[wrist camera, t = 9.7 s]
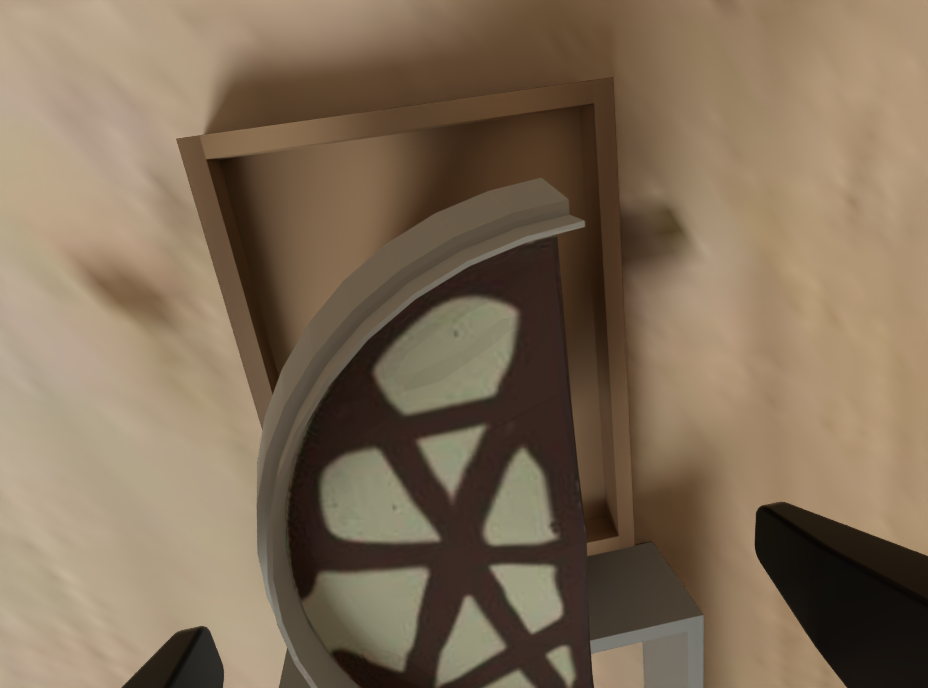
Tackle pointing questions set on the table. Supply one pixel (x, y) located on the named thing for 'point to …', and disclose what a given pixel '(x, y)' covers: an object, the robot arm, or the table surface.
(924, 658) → the robot arm
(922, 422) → the table surface
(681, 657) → the tub
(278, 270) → the tray
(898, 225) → the table surface
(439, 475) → the food container
